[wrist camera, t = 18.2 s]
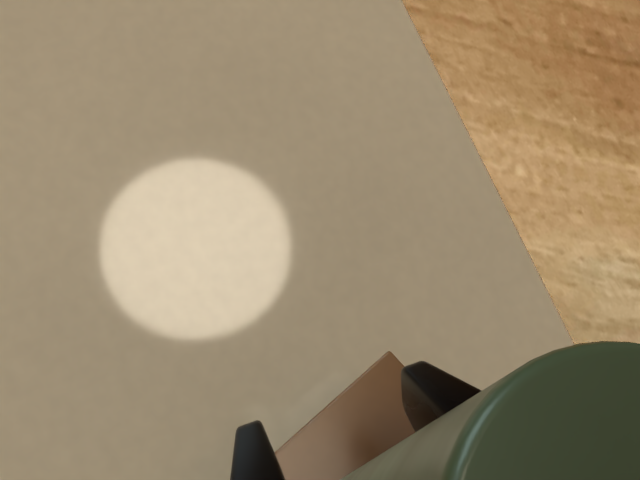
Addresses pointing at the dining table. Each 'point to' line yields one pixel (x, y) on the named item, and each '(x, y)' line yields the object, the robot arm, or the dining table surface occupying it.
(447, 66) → the dining table surface
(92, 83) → the tile
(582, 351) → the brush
